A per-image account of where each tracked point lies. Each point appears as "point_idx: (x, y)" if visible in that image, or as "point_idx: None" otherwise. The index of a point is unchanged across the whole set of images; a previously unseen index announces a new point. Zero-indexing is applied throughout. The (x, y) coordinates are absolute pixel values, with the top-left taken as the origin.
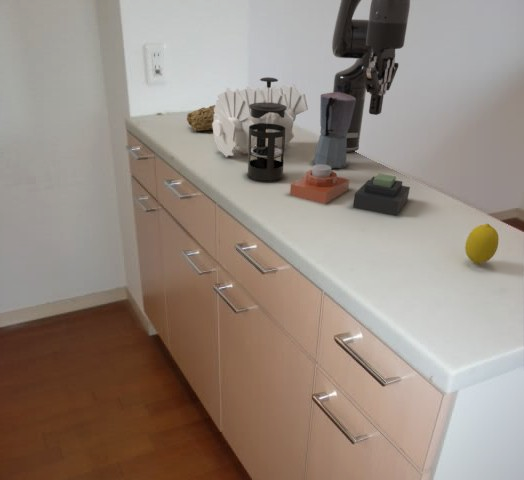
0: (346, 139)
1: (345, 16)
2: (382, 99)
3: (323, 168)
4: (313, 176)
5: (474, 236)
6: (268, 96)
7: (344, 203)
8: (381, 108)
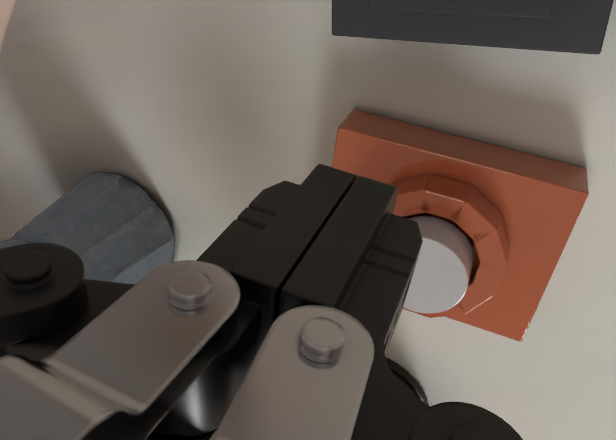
0: (26, 229)
1: None
2: (272, 246)
3: (439, 268)
4: (478, 284)
5: None
6: None
7: (538, 88)
8: (310, 185)
